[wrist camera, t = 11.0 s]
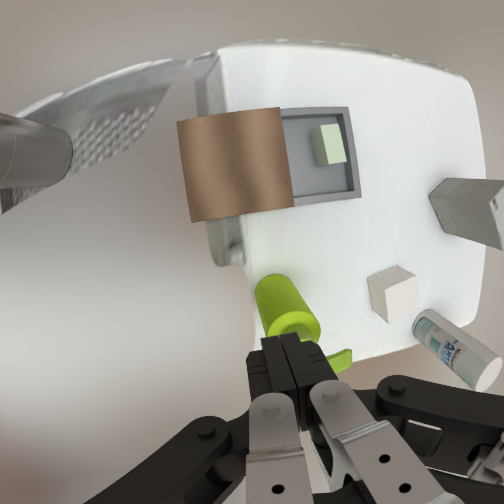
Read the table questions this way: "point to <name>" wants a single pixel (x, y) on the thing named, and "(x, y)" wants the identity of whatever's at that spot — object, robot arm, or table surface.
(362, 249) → the table surface
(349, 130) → the box
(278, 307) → the soap dispenser
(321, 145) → the tile
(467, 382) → the spray can
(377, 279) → the white cube
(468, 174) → the table surface
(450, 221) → the skincare box
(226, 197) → the brown flat square block
